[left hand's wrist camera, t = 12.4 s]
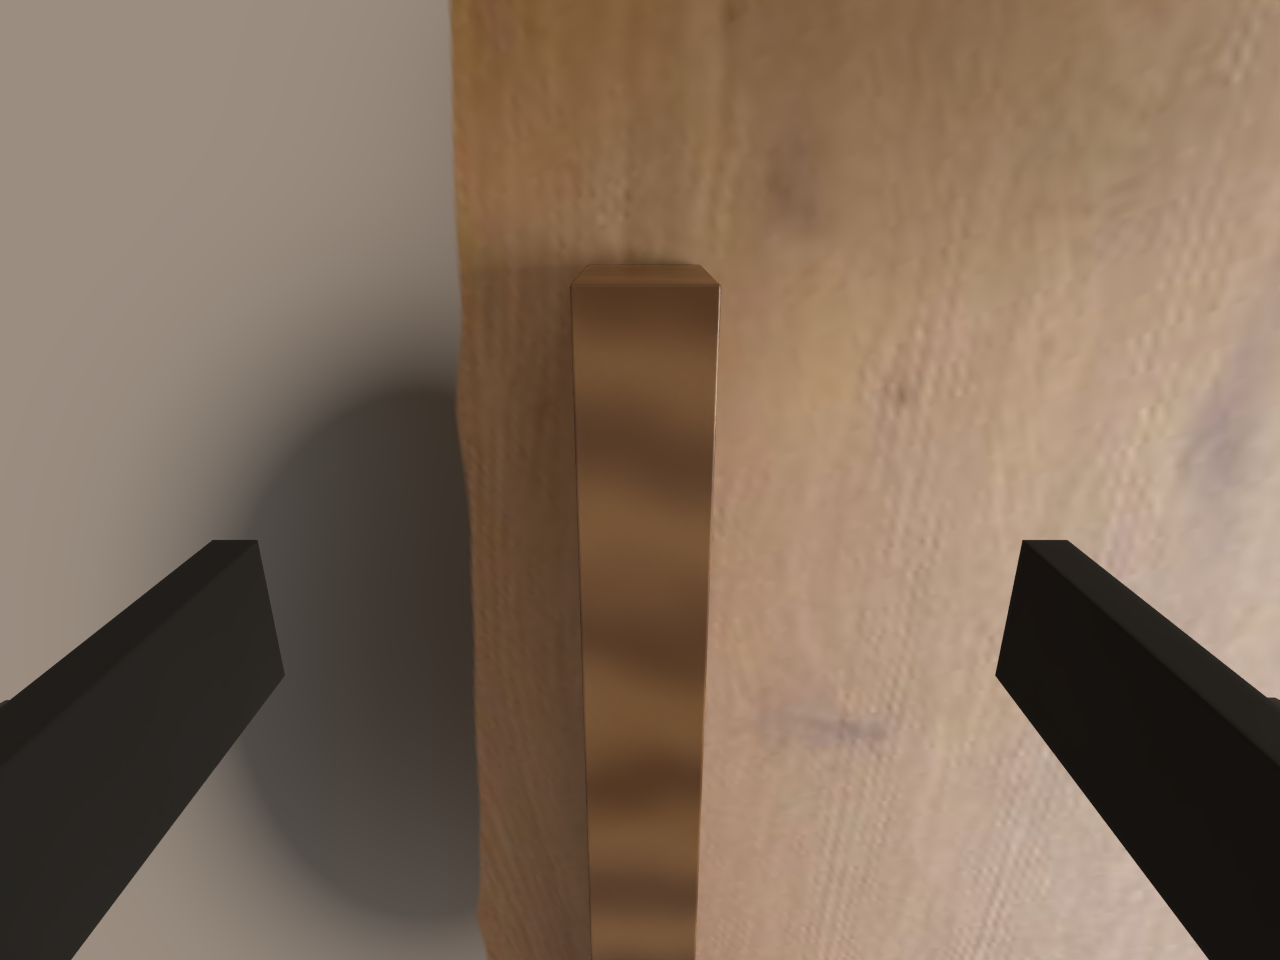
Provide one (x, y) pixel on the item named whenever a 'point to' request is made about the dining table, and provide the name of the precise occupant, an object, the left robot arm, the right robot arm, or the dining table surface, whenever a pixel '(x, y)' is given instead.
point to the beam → (644, 591)
